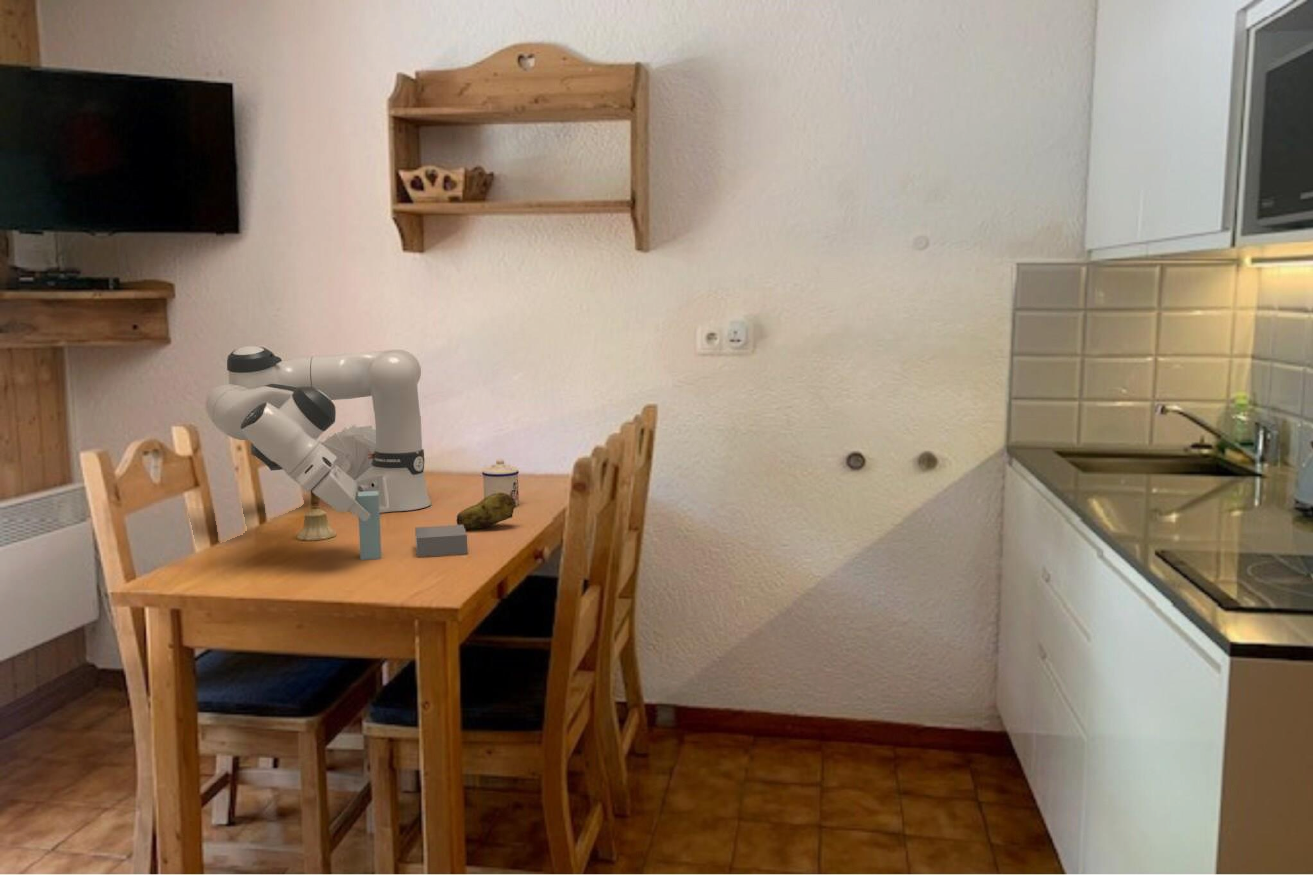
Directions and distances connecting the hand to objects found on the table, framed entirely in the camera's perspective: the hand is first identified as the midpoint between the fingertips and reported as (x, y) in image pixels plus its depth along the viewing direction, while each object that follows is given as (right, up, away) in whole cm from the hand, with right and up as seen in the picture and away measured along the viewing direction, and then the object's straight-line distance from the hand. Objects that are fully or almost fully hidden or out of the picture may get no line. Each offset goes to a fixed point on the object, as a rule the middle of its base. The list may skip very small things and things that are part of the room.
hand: (368, 513), depth 211 cm
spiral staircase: (-23, +1, +72) cm, 75 cm away
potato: (+20, -5, +26) cm, 33 cm away
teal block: (0, -9, +1) cm, 9 cm away
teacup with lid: (+19, -2, +53) cm, 56 cm away
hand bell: (-17, -7, +19) cm, 26 cm away
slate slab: (+13, -8, +6) cm, 17 cm away
